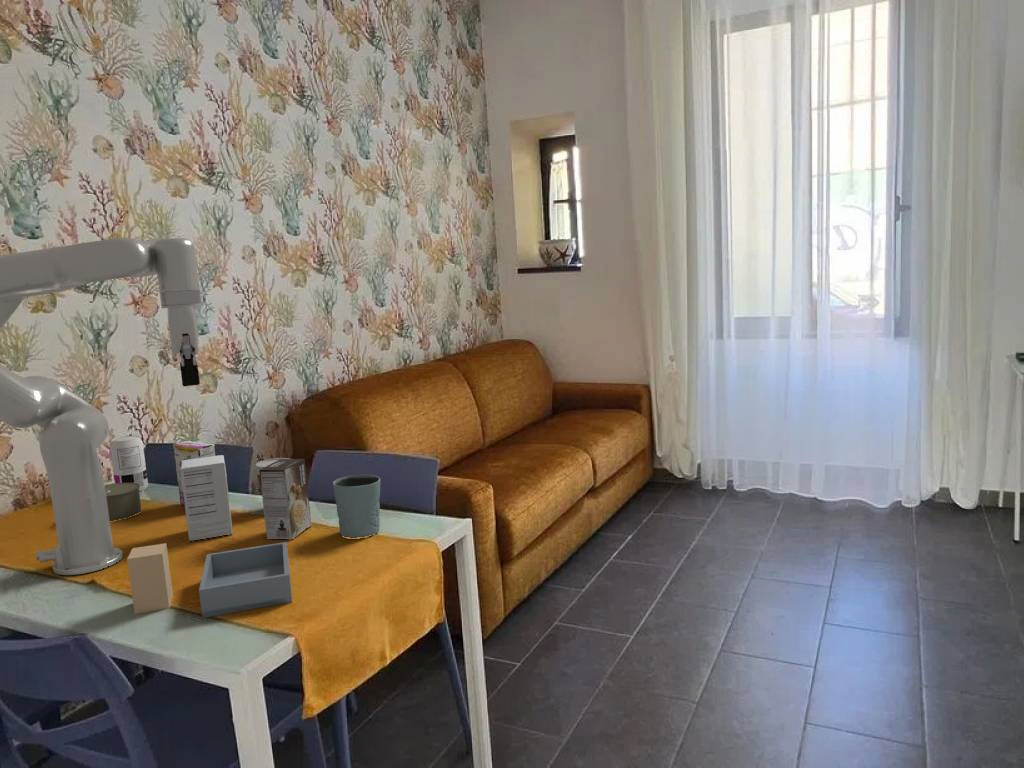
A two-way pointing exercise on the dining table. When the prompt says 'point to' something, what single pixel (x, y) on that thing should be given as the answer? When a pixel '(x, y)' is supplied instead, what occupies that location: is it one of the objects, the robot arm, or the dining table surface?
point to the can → (122, 500)
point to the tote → (245, 579)
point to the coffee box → (285, 498)
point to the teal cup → (358, 505)
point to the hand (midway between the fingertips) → (190, 382)
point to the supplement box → (206, 497)
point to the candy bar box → (190, 457)
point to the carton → (150, 578)
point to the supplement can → (129, 461)
